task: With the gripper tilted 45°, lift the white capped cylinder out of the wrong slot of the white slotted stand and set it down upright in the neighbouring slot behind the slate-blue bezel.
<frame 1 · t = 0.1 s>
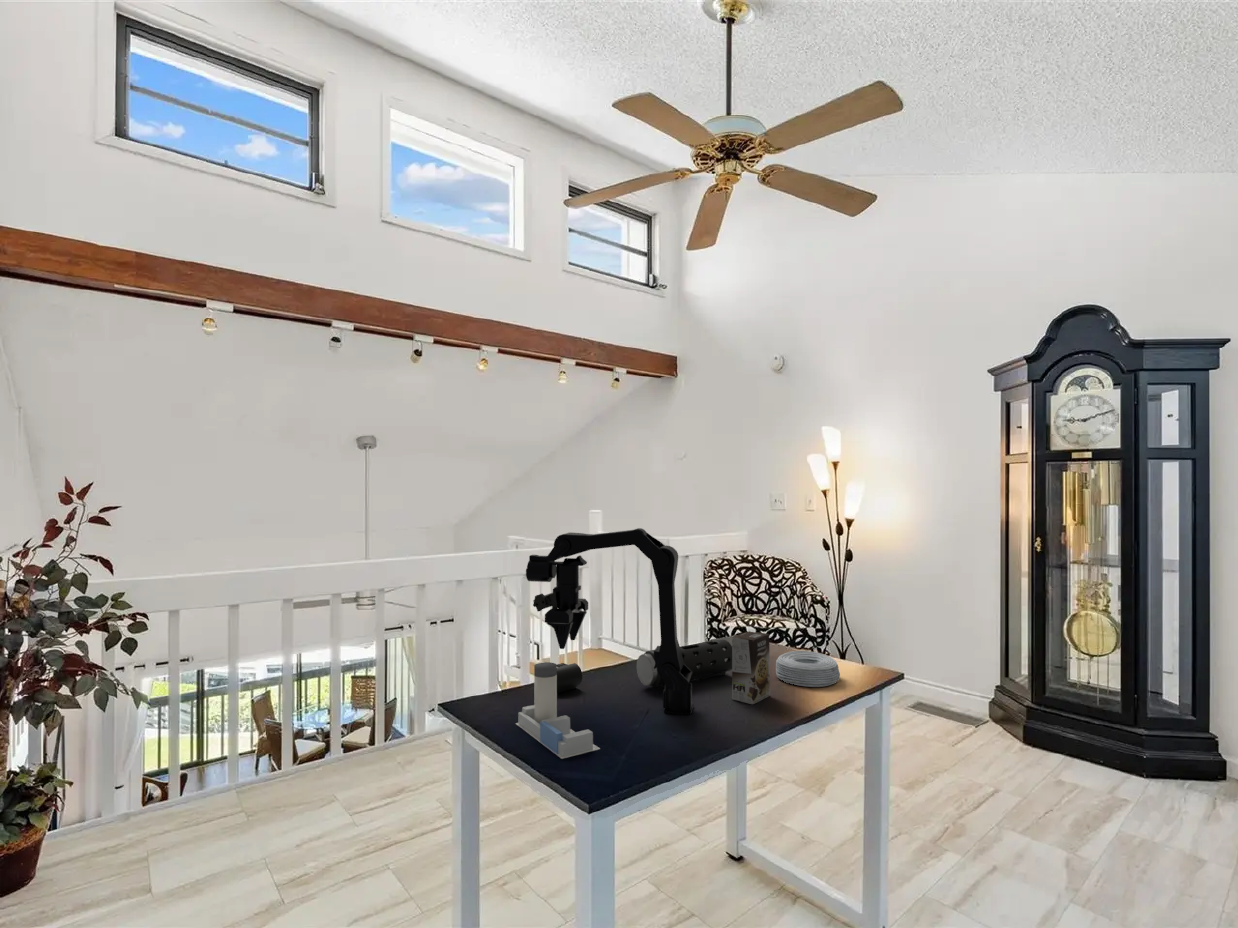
hand: (567, 644, 170), 15 cm above the table, tool pointing down, fingers open, 9 cm apart
cookie box: (751, 698, 173), on the table
white slotted stand: (555, 738, 146), on the table
white capped cylinder: (545, 728, 150), point 1 cm above the table, touching white slotted stand
black piece: (559, 692, 179), on the table
cable: (807, 680, 189), on the table
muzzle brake: (686, 683, 187), on the table
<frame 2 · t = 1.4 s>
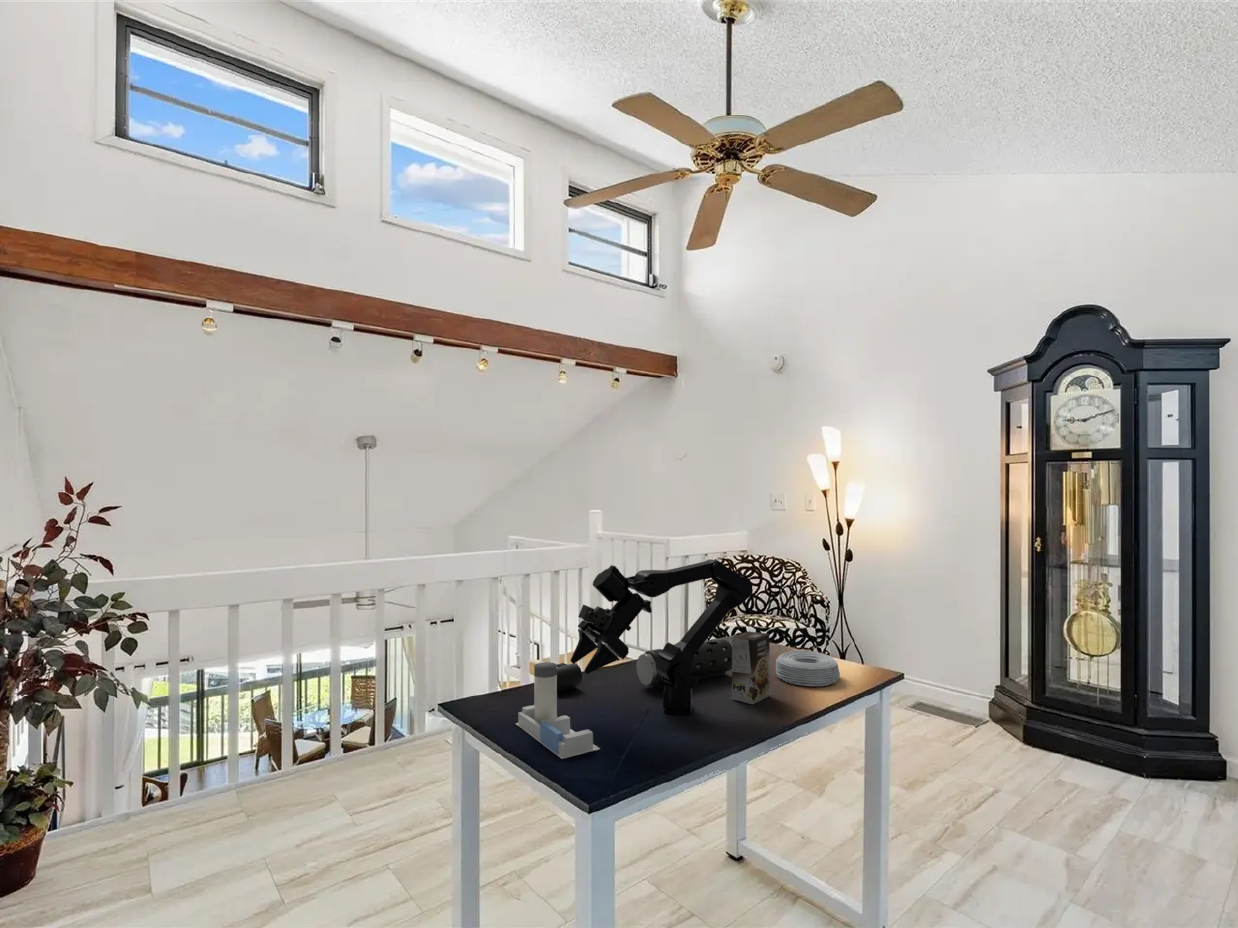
hand: (578, 667, 154), 13 cm above the table, tool tilted 45°, fingers open, 9 cm apart
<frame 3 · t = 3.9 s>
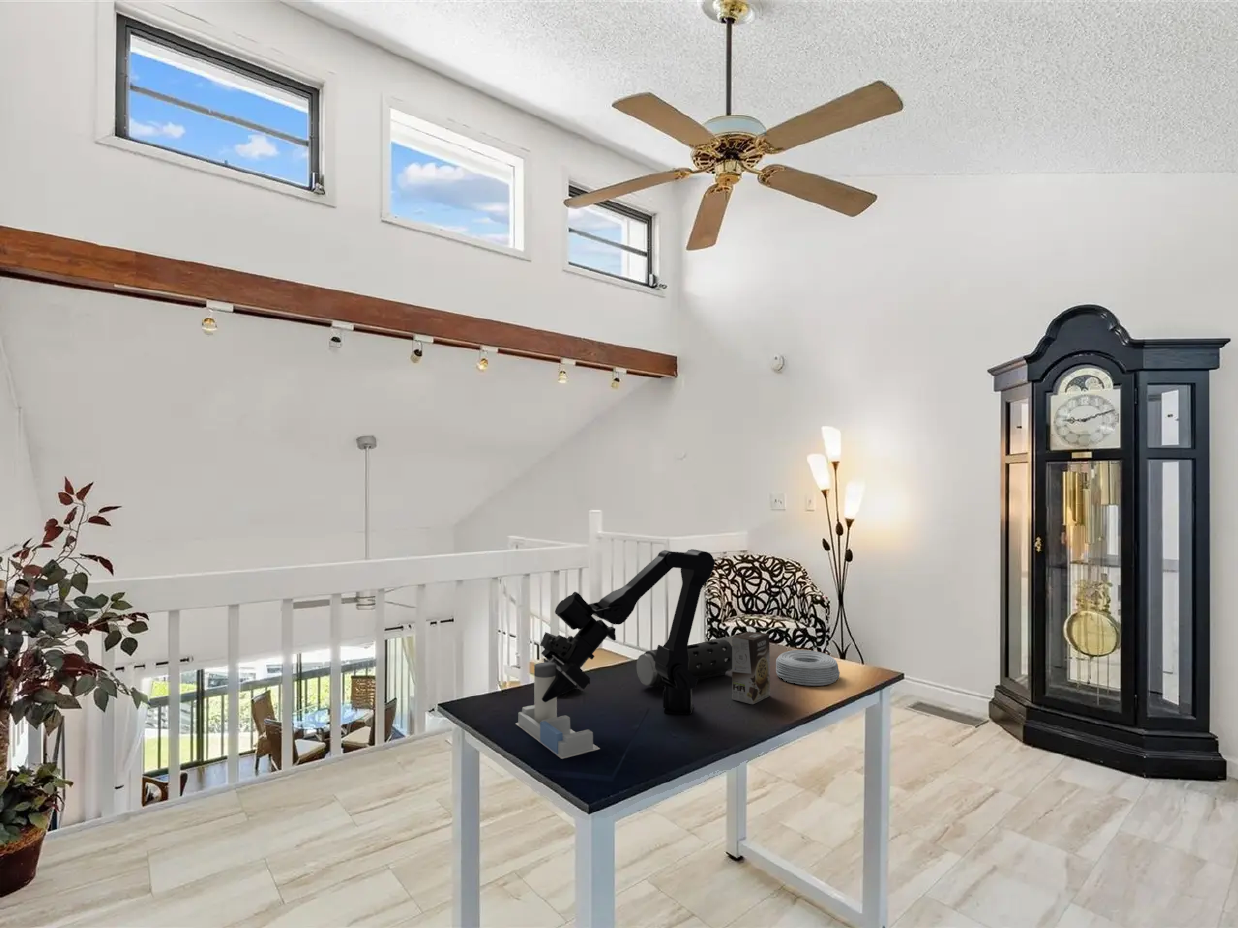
hand: (539, 697, 150), 8 cm above the table, tool tilted 45°, fingers closed on white capped cylinder, 5 cm apart
white capped cylinder: (545, 728, 150), point 1 cm above the table, touching white slotted stand, gripper
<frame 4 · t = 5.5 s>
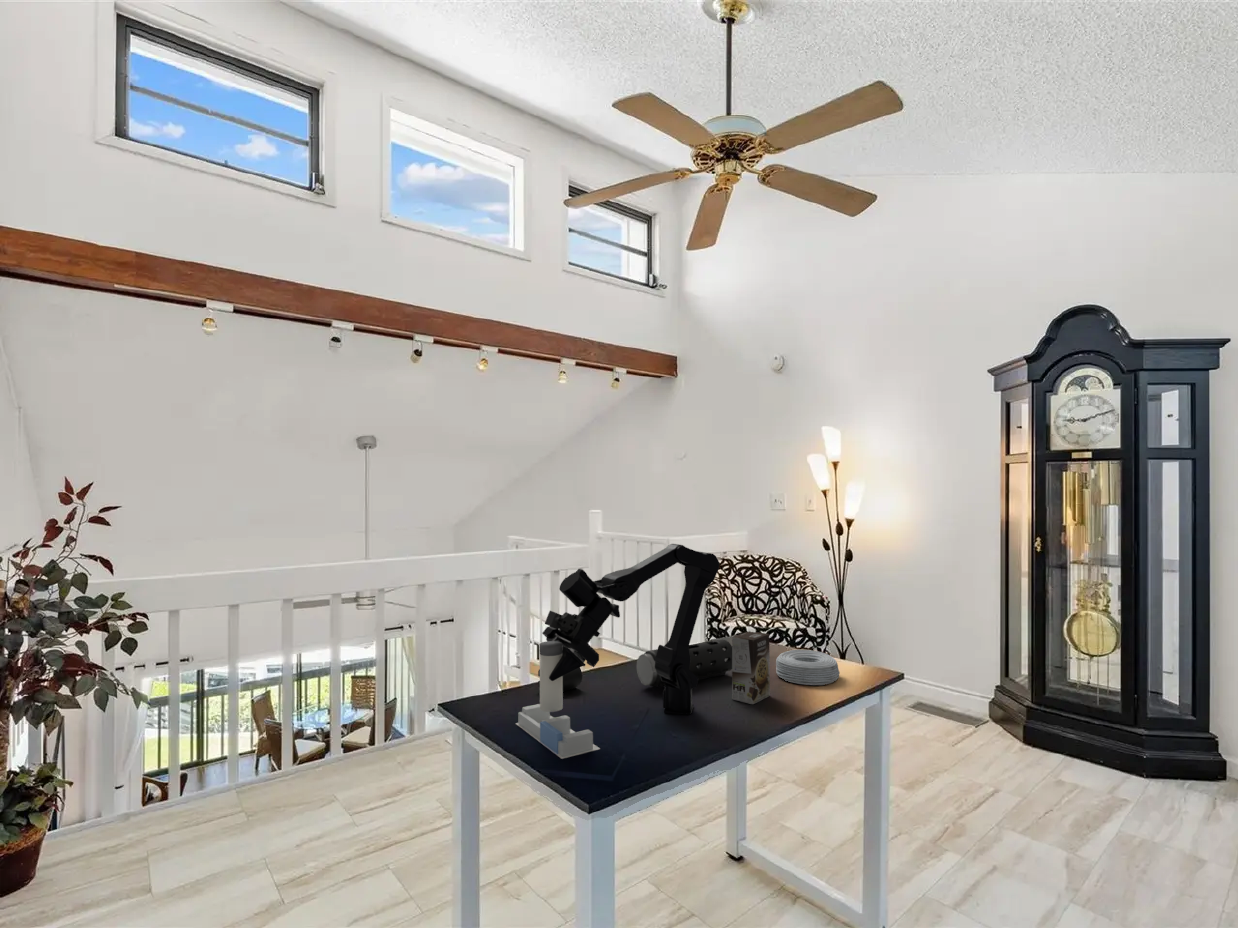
hand: (545, 676, 147), 13 cm above the table, tool tilted 45°, fingers closed on white capped cylinder, 5 cm apart
white capped cylinder: (551, 707, 147), point 6 cm above the table, touching gripper
when the fingers open (9 cm above the table, at t = 7.4 s): white capped cylinder drops 1 cm, resting on white slotted stand.
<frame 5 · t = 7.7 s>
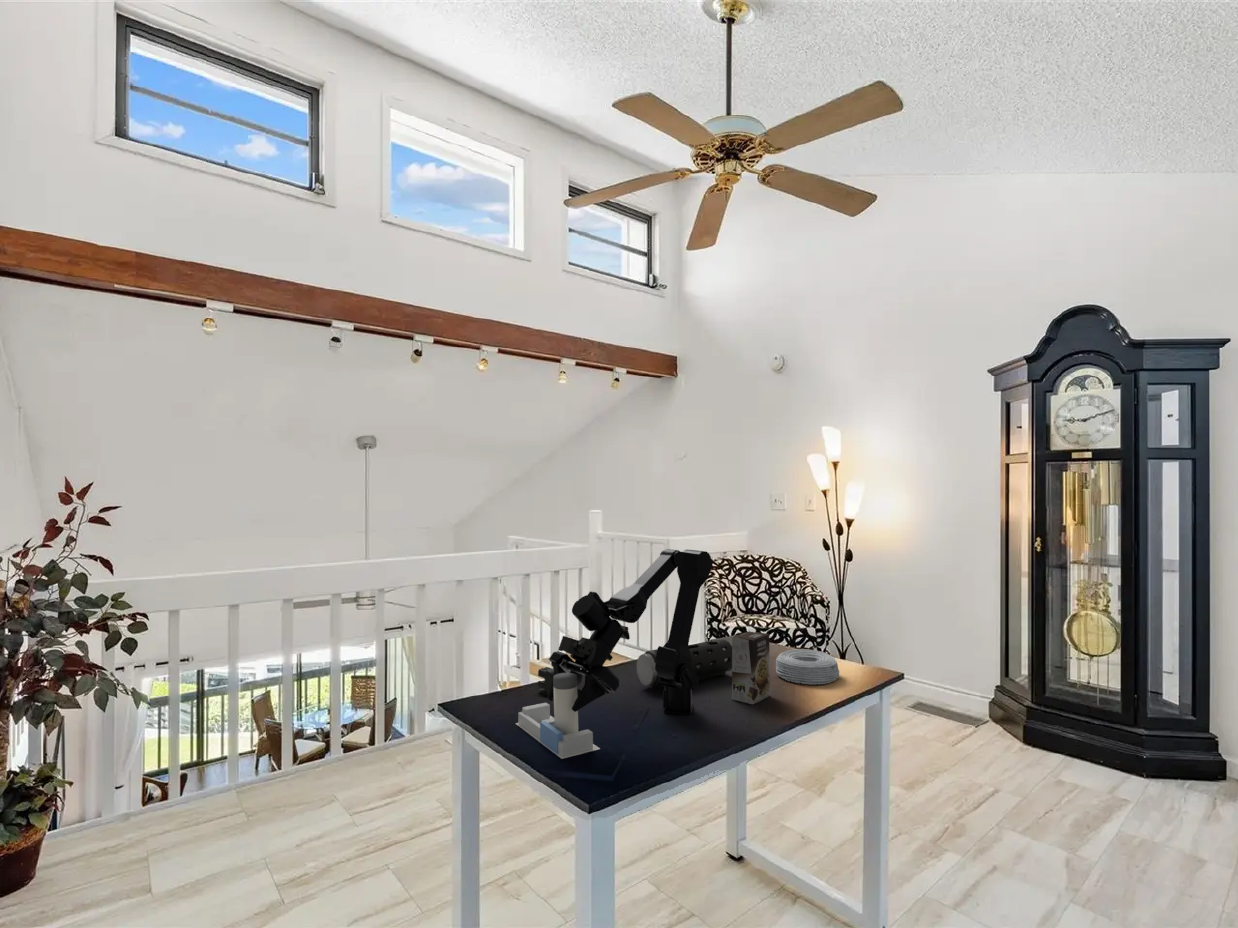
hand: (560, 705, 141), 9 cm above the table, tool tilted 45°, fingers open, 8 cm apart
white capped cylinder: (566, 742, 142), point 1 cm above the table, touching white slotted stand
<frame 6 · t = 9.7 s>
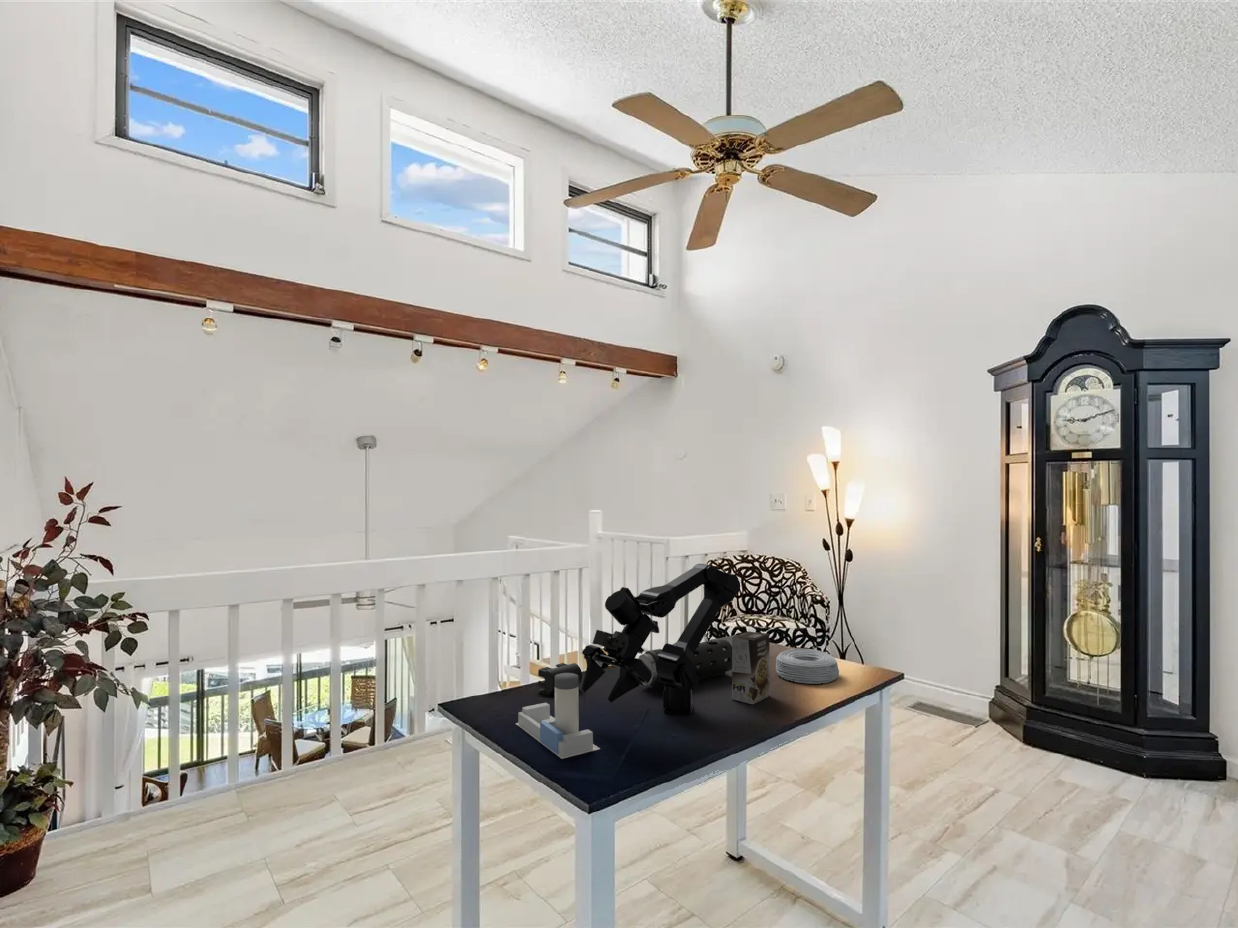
hand: (595, 695, 147), 9 cm above the table, tool tilted 45°, fingers open, 9 cm apart
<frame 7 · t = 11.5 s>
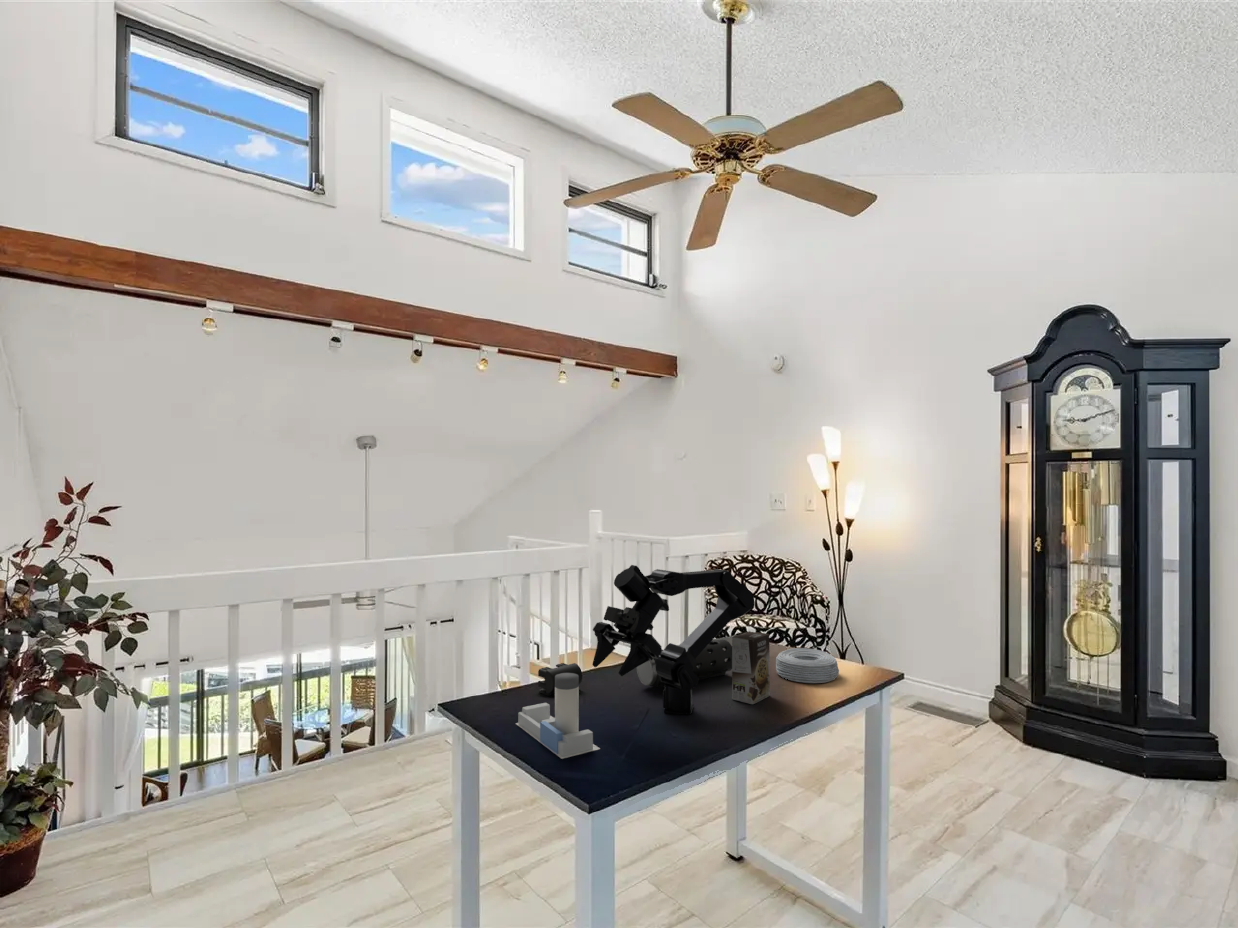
hand: (606, 670, 151), 14 cm above the table, tool tilted 45°, fingers open, 9 cm apart
at the end: white capped cylinder 0.1 cm from the target spot on the white slotted stand, point 0.8 cm above the white slotted stand's base; white capped cylinder tilted 0°; the gripper is holding nothing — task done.
